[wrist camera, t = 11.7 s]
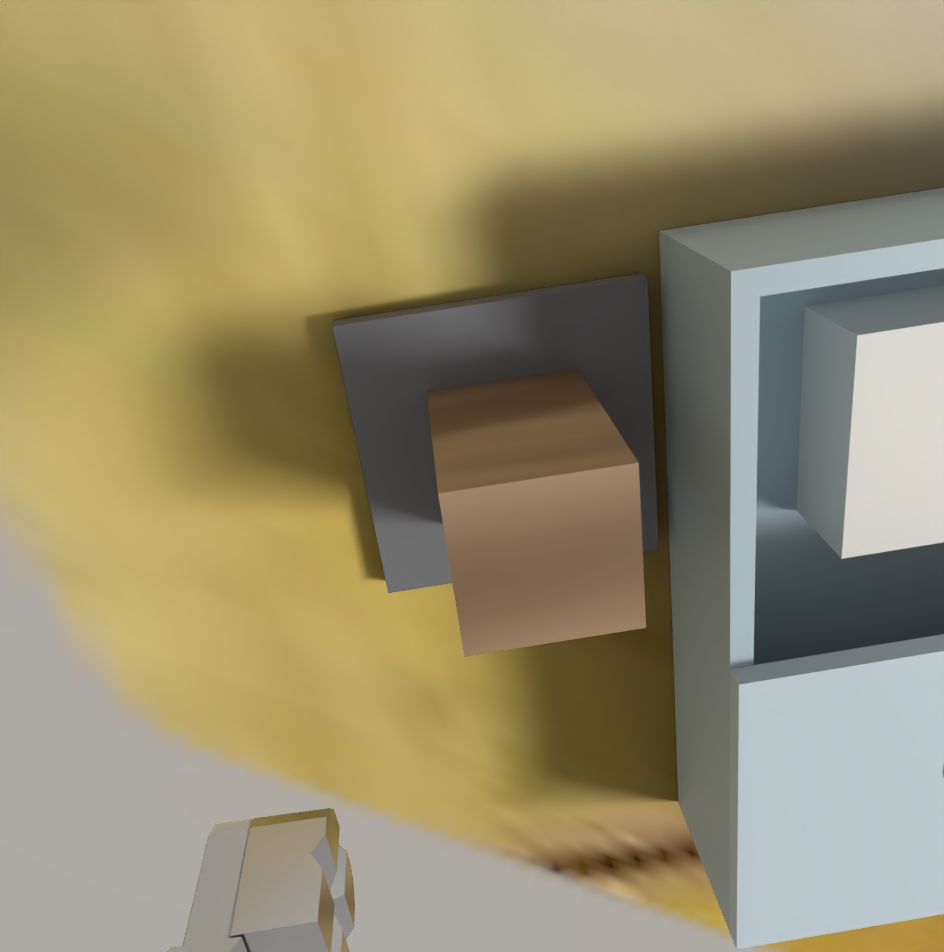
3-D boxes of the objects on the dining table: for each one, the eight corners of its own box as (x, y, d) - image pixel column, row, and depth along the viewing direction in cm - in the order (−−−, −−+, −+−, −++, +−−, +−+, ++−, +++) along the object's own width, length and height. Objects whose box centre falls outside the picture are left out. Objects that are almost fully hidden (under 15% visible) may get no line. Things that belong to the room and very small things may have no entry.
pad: (334, 320, 21) (332, 326, 21) (641, 273, 22) (647, 278, 21) (388, 581, 25) (388, 592, 24) (652, 539, 25) (658, 549, 25)
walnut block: (426, 391, 22) (437, 493, 16) (577, 368, 22) (638, 462, 17) (447, 524, 24) (464, 656, 18) (588, 502, 24) (646, 627, 18)
